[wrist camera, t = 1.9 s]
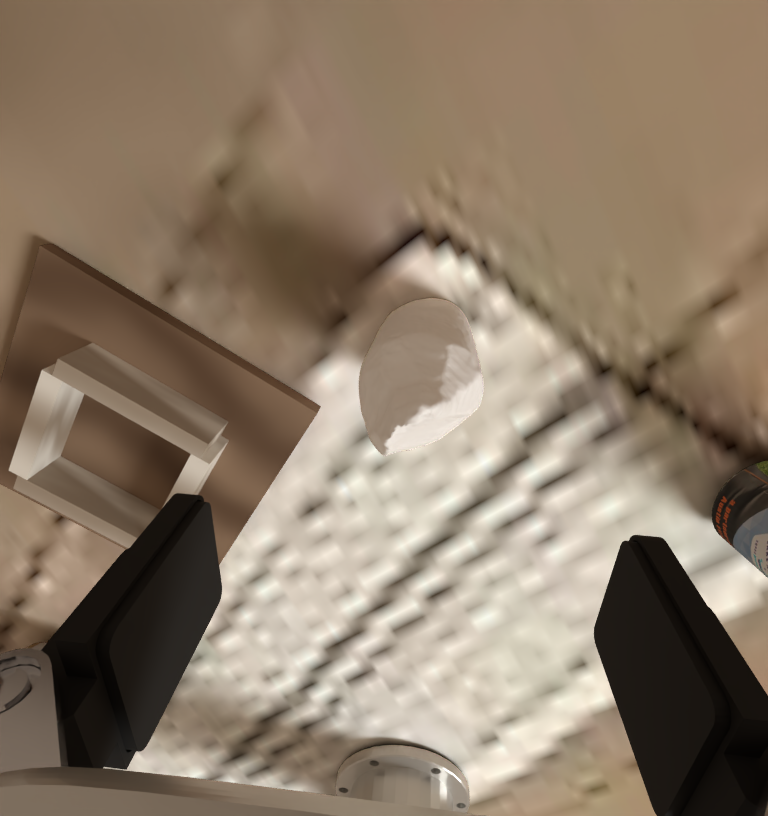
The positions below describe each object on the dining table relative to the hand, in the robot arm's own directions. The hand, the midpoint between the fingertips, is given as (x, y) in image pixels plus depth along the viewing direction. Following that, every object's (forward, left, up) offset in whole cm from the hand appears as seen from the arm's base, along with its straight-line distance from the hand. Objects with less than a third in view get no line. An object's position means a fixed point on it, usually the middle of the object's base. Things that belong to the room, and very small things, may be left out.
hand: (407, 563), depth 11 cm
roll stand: (-16, +12, -19) cm, 28 cm away
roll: (0, 0, -19) cm, 19 cm away
